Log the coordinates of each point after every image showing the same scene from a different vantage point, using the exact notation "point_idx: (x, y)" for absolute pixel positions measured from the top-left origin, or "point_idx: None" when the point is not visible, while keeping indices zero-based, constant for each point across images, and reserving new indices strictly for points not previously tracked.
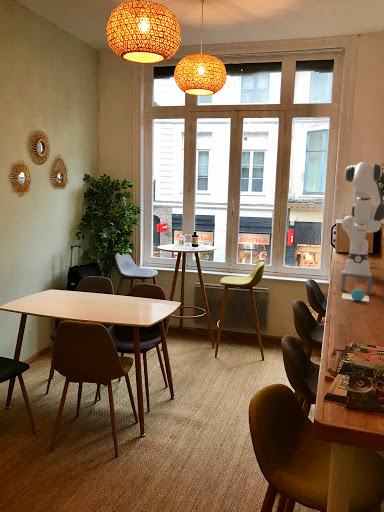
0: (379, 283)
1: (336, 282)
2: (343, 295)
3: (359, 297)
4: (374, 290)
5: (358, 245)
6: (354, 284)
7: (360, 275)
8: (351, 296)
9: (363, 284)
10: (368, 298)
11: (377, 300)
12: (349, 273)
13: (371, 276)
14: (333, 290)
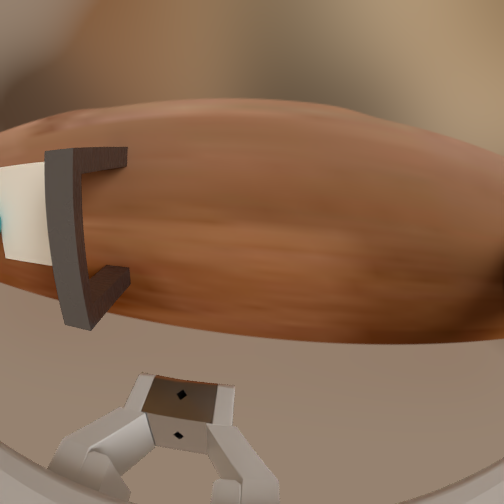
0: (394, 344)
1: (350, 129)
2: (28, 168)
3: None
4: (208, 312)
5: (79, 441)
6: (333, 229)
7: (53, 264)
8: (27, 199)
9: (350, 277)
10: (33, 261)
11: (33, 287)
12: (66, 196)
13: (64, 321)
14: (103, 112)
